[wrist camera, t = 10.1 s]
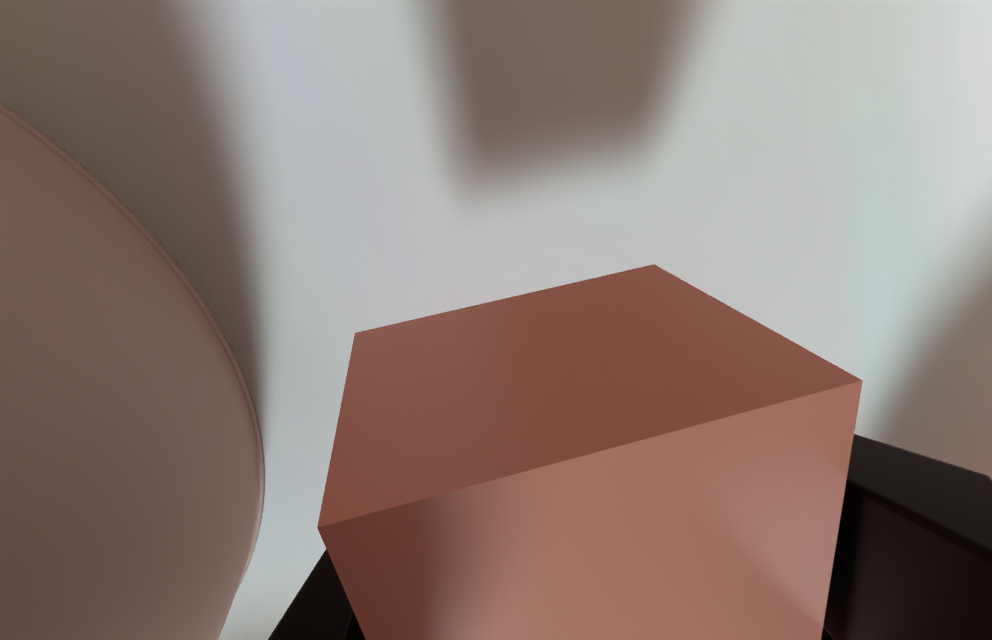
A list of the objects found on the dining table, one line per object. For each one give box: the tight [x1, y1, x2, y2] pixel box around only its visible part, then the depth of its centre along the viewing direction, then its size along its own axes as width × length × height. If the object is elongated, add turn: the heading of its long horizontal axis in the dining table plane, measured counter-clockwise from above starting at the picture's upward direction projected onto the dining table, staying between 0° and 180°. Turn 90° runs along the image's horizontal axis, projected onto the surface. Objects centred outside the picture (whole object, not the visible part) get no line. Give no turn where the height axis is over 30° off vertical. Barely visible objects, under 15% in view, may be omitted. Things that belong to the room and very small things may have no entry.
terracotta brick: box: [317, 265, 862, 640], centre depth 7 cm, size 5×5×4 cm
